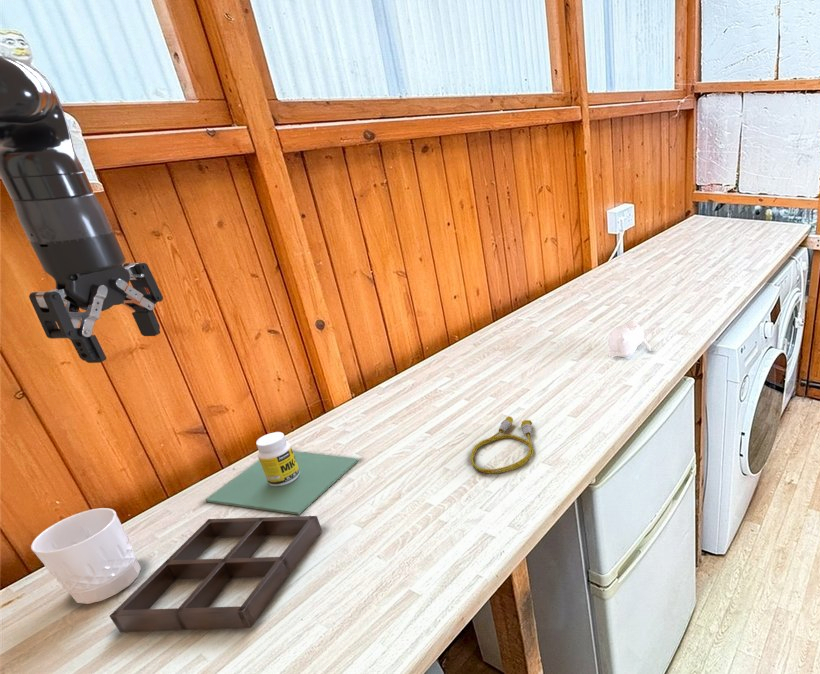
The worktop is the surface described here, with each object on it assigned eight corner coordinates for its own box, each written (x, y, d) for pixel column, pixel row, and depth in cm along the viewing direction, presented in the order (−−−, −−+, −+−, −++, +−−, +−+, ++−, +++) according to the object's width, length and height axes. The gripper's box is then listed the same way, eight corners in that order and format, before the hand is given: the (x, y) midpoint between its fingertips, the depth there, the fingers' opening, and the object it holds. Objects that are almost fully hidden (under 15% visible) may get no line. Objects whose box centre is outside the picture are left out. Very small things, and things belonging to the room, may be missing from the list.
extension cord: (558, 436, 102) (557, 427, 101) (502, 483, 90) (500, 474, 89) (512, 420, 108) (510, 411, 107) (452, 462, 95) (450, 453, 94)
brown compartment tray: (119, 632, 65) (108, 615, 64) (215, 533, 80) (208, 518, 79) (250, 628, 66) (242, 611, 64) (322, 530, 81) (316, 515, 79)
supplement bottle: (289, 487, 89) (273, 447, 86) (262, 487, 89) (245, 447, 86) (306, 469, 93) (292, 430, 90) (280, 469, 94) (265, 430, 90)
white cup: (144, 551, 77) (115, 499, 73) (148, 583, 72) (116, 528, 68) (69, 583, 72) (33, 529, 68) (67, 619, 67) (28, 563, 63)
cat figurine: (632, 310, 137) (611, 325, 127) (663, 335, 136) (644, 352, 126) (617, 333, 142) (596, 349, 132) (647, 357, 141) (627, 375, 131)
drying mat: (206, 501, 87) (205, 499, 87) (275, 451, 99) (274, 448, 99) (298, 515, 84) (297, 512, 83) (358, 460, 96) (357, 458, 96)
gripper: (95, 221, 72) (142, 328, 79) (-24, 247, 59) (45, 372, 66) (149, 220, 72) (192, 327, 79) (42, 246, 59) (105, 371, 66)
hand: (125, 347), depth 72 cm, fingers open, 8 cm apart
